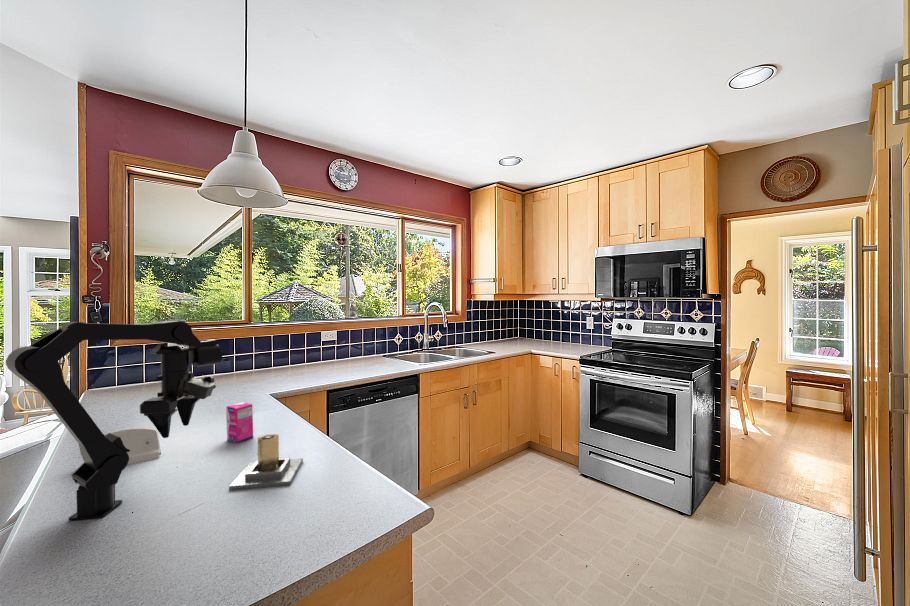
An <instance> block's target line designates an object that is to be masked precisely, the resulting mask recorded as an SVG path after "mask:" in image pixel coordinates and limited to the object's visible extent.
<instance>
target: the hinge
mask: <svg viewBox="0 0 910 606" xmlns="http://www.w3.org/2000/svg"><path fill="white" fill-rule="evenodd" d="M110 433H111V434H113V435H116V436H118V437H120V438H121V440H122V442H123V445H124V446H125V447H126V448H127V449H129V450H130V451H129V452H127V453H128V455H129V461H128V464H127V466H128V465H133V464H137V463H142V462H148V461H153V460H157V459H160V454H162V449H161V445H160V439H159V437H160V436H159V431H158V430H157V429H154V428H153V429H152V428H144V427H143V428H140V427H139V428H138V427H137V428H127V429H122V430H121V429H120V430H117V431H112V432H110ZM107 434H108V433H107ZM107 434H106V433H105V434H104V435H105V436H106V435H107Z"/></svg>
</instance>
